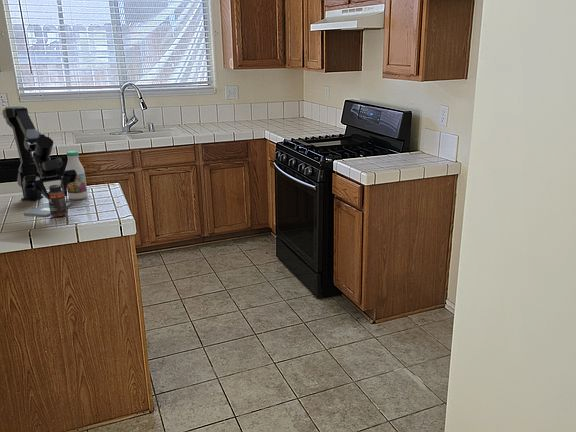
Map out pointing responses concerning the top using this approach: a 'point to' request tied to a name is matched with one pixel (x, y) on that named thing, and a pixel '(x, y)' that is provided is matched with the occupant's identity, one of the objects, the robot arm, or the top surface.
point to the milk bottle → (79, 185)
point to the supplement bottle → (57, 201)
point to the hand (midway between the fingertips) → (57, 197)
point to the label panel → (43, 210)
